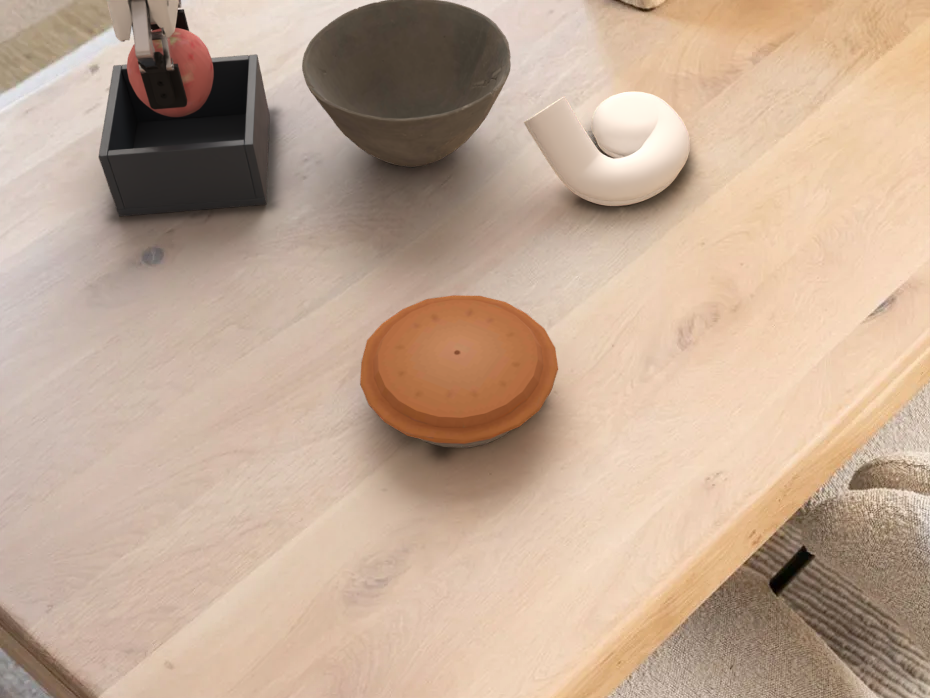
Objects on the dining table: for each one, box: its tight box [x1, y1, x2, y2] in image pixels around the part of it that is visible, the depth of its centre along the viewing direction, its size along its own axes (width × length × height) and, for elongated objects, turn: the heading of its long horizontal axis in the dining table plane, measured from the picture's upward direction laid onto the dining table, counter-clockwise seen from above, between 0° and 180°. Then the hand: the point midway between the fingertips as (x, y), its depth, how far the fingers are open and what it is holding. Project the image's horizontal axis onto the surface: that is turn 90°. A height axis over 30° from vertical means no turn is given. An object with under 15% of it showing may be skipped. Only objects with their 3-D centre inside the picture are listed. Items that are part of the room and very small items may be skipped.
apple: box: [126, 28, 214, 117], centre depth 110 cm, size 7×7×8 cm
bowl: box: [301, 0, 512, 168], centre depth 115 cm, size 19×19×10 cm
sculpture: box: [523, 91, 691, 207], centre depth 113 cm, size 12×15×8 cm
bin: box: [98, 53, 270, 217], centre depth 116 cm, size 14×14×7 cm
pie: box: [359, 294, 559, 449], centre depth 98 cm, size 15×16×5 cm
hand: (172, 77), depth 111 cm, fingers closed on apple, 7 cm apart
